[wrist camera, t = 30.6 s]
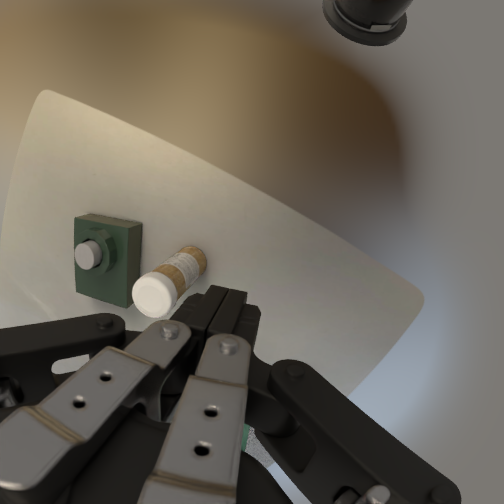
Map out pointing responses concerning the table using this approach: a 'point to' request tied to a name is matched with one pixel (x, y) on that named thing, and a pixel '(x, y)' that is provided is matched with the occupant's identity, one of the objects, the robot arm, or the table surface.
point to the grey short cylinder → (88, 254)
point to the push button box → (109, 258)
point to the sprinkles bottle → (168, 282)
